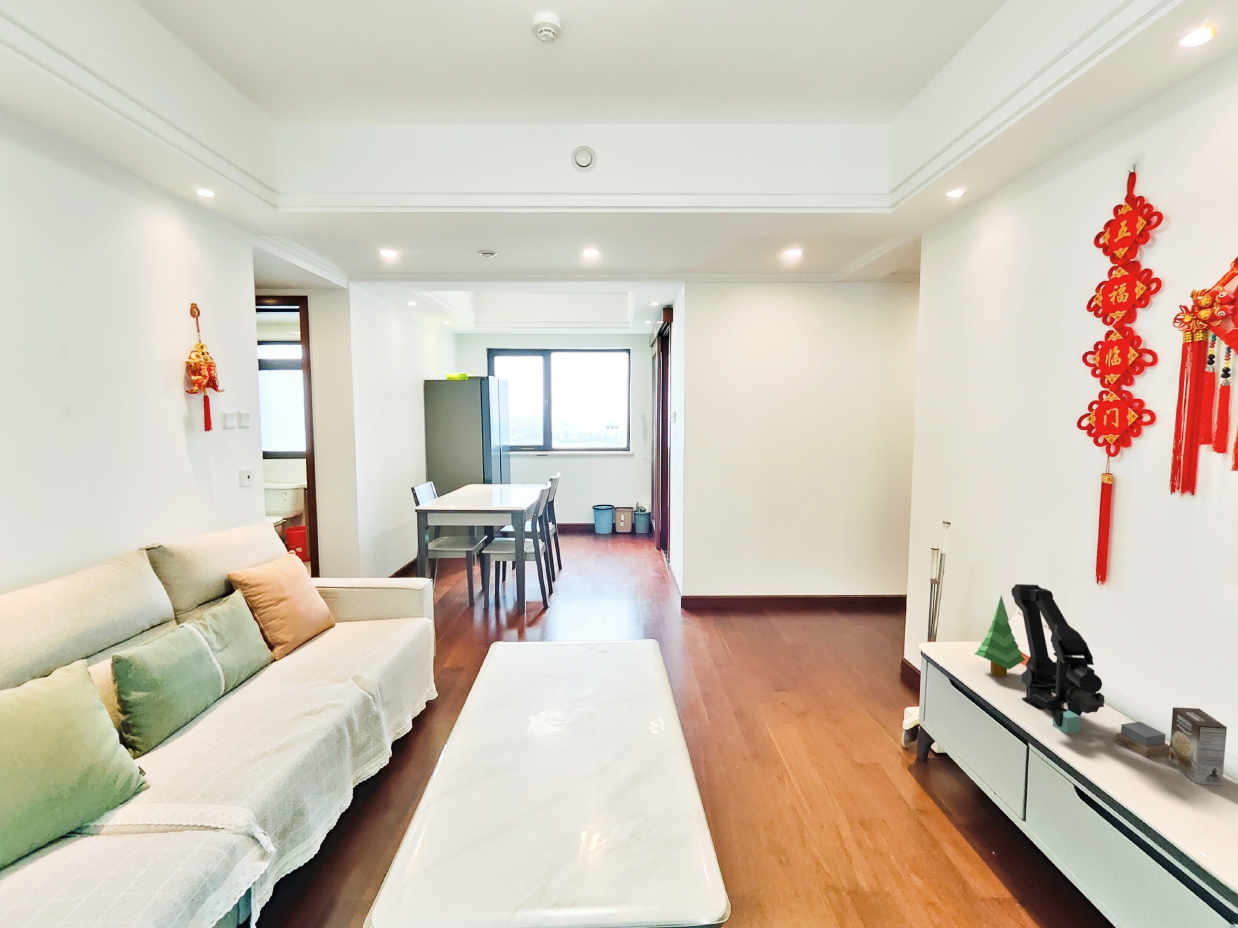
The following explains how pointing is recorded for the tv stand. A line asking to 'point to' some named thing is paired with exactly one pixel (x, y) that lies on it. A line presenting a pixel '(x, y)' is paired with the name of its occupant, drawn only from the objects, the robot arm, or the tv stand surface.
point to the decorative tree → (1000, 644)
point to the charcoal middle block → (1143, 734)
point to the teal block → (1069, 723)
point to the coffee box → (1197, 745)
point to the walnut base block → (1143, 751)
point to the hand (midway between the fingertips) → (1066, 725)
